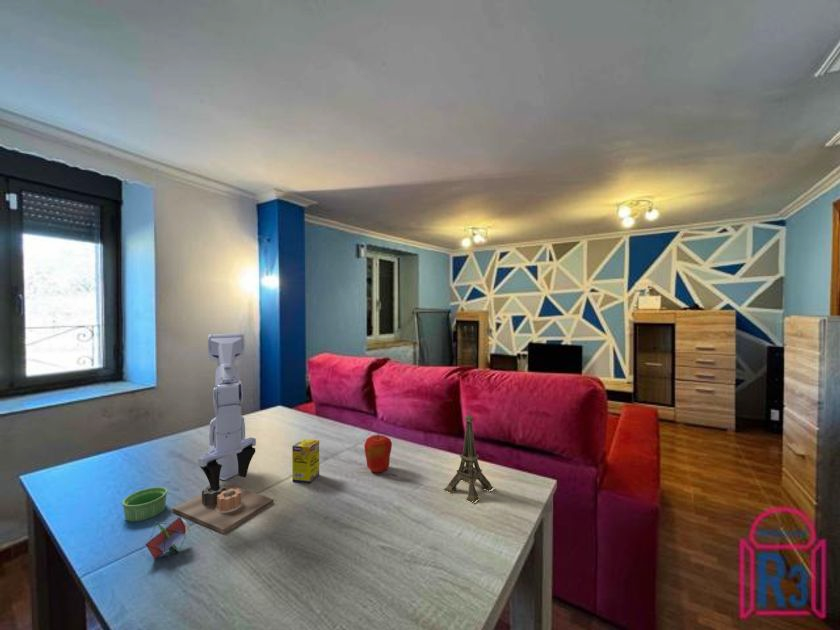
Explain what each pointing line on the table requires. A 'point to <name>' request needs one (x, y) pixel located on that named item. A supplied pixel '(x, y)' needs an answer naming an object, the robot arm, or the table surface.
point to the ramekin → (145, 504)
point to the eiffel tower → (469, 466)
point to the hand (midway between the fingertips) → (229, 482)
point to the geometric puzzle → (168, 537)
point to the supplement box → (305, 460)
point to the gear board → (221, 521)
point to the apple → (378, 453)
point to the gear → (229, 500)
